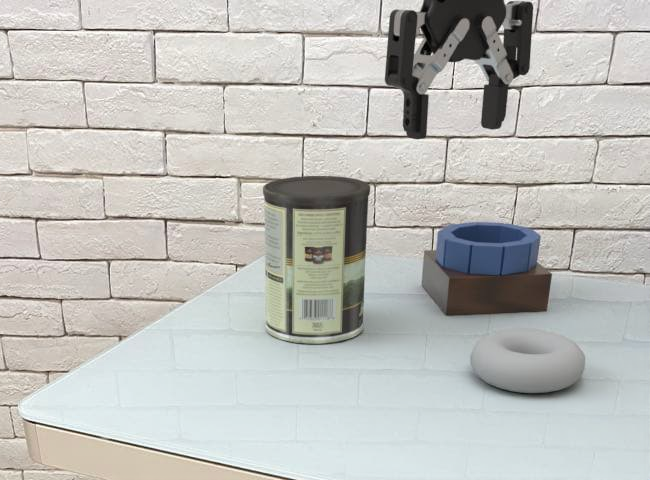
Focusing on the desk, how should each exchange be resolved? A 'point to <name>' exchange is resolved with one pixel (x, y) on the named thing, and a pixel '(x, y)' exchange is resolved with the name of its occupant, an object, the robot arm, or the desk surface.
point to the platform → (485, 289)
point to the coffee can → (315, 258)
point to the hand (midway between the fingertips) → (454, 133)
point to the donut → (527, 360)
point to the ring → (487, 248)
